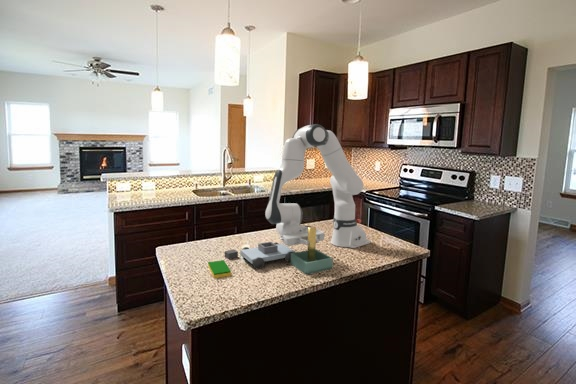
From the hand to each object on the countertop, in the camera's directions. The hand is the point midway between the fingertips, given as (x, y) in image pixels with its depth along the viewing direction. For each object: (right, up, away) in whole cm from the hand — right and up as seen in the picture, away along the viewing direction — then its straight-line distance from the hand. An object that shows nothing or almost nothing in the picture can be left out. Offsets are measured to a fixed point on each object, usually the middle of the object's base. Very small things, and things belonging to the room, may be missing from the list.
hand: (312, 242), depth 143 cm
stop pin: (-1, -8, +2) cm, 9 cm away
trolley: (-21, -10, +10) cm, 25 cm away
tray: (-1, -11, +3) cm, 12 cm away
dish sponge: (-41, -12, -3) cm, 43 cm away
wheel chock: (-38, -9, +13) cm, 42 cm away
